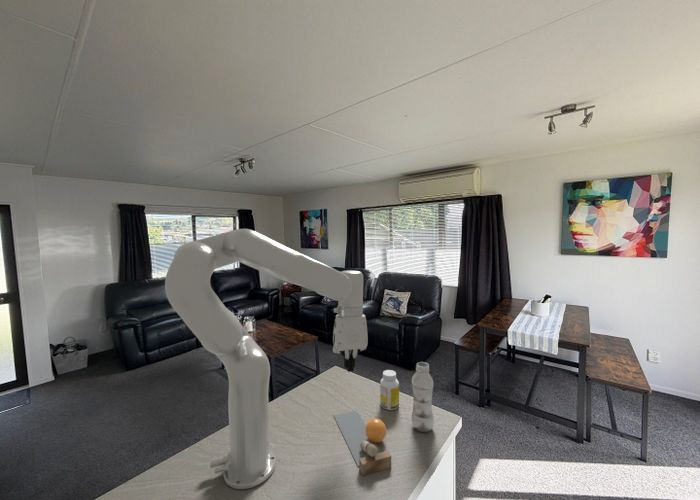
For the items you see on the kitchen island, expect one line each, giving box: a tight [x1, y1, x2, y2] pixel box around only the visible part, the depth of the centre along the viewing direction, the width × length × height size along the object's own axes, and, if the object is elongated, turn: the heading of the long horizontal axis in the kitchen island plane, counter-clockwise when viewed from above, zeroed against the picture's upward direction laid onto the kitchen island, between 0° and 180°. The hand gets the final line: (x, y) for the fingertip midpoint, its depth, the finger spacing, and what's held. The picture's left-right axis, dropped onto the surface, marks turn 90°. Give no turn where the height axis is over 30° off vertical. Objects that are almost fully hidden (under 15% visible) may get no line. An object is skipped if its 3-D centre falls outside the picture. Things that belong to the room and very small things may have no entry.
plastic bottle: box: [411, 361, 435, 433], centre depth 87 cm, size 6×7×20 cm
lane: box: [333, 409, 383, 468], centre depth 85 cm, size 8×22×1 cm, turn 20°
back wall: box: [358, 450, 392, 477], centre depth 73 cm, size 8×2×3 cm, turn 110°
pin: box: [360, 440, 378, 457], centre depth 76 cm, size 2×2×8 cm
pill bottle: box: [379, 369, 400, 411], centre depth 99 cm, size 6×6×12 cm
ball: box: [365, 418, 387, 444], centre depth 82 cm, size 6×6×6 cm
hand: (349, 369), depth 88 cm, fingers closed
